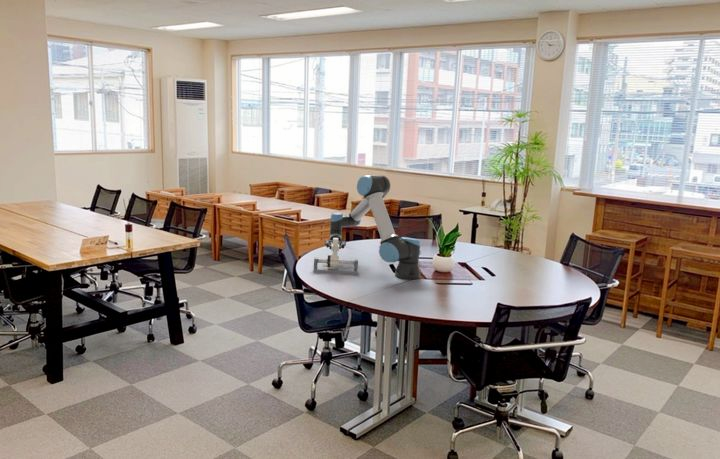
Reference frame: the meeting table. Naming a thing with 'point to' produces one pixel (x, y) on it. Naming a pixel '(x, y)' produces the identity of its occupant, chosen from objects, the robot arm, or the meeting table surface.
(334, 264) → the sleeve
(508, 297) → the meeting table surface
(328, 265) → the ring
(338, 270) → the pipe stand
